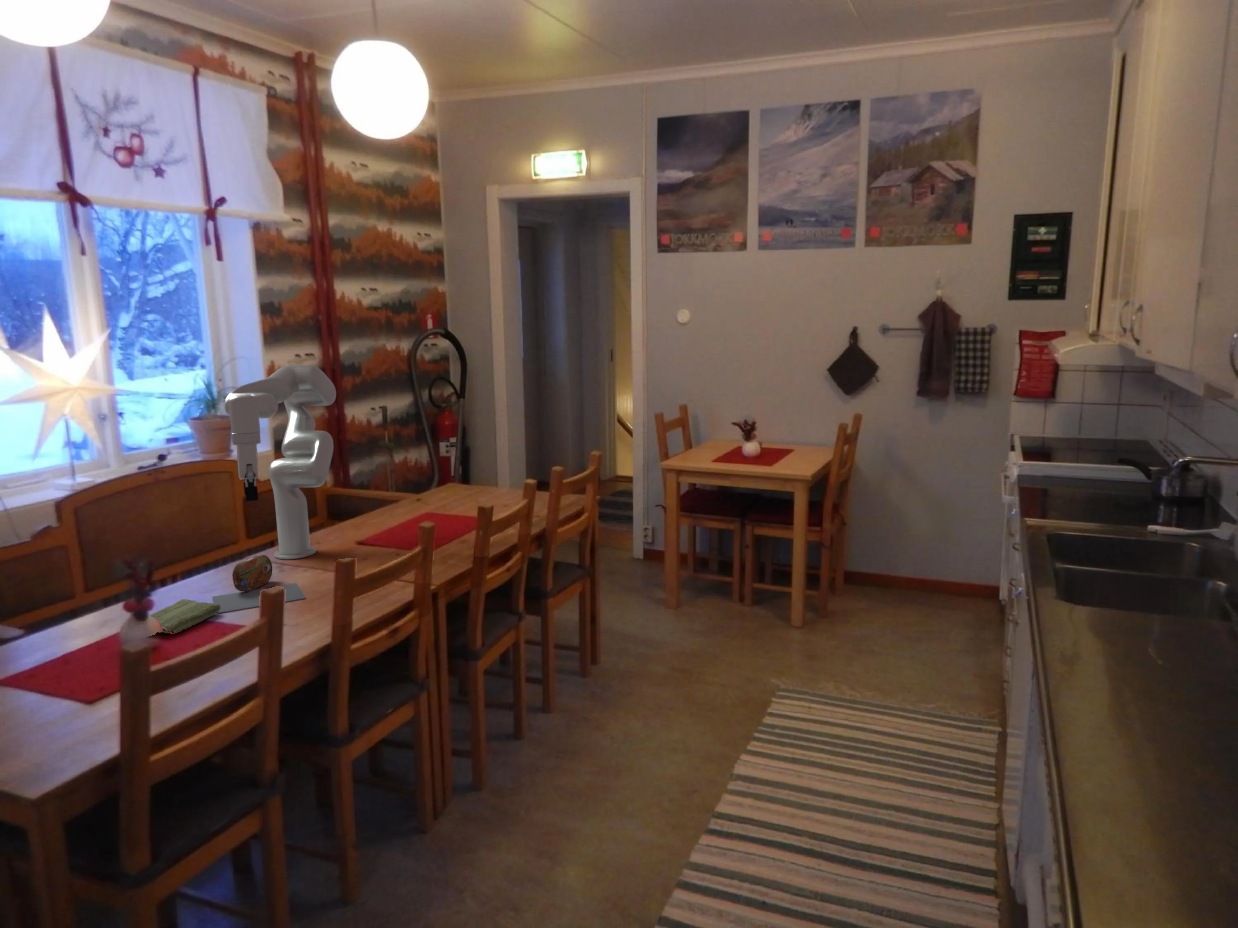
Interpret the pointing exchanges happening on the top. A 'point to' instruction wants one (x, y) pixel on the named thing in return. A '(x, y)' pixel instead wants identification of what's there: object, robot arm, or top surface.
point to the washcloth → (184, 614)
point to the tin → (252, 573)
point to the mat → (252, 598)
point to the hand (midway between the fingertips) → (251, 497)
